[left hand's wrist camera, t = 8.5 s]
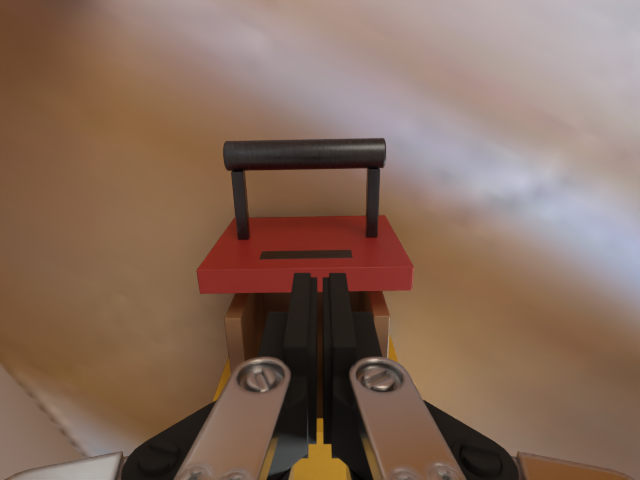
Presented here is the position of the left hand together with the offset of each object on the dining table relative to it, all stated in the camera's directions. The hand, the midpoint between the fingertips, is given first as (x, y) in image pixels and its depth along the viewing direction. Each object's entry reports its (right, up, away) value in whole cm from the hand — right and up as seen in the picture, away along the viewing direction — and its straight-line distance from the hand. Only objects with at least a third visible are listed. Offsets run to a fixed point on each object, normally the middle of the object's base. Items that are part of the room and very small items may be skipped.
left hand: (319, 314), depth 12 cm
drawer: (-1, -3, +14) cm, 15 cm away
